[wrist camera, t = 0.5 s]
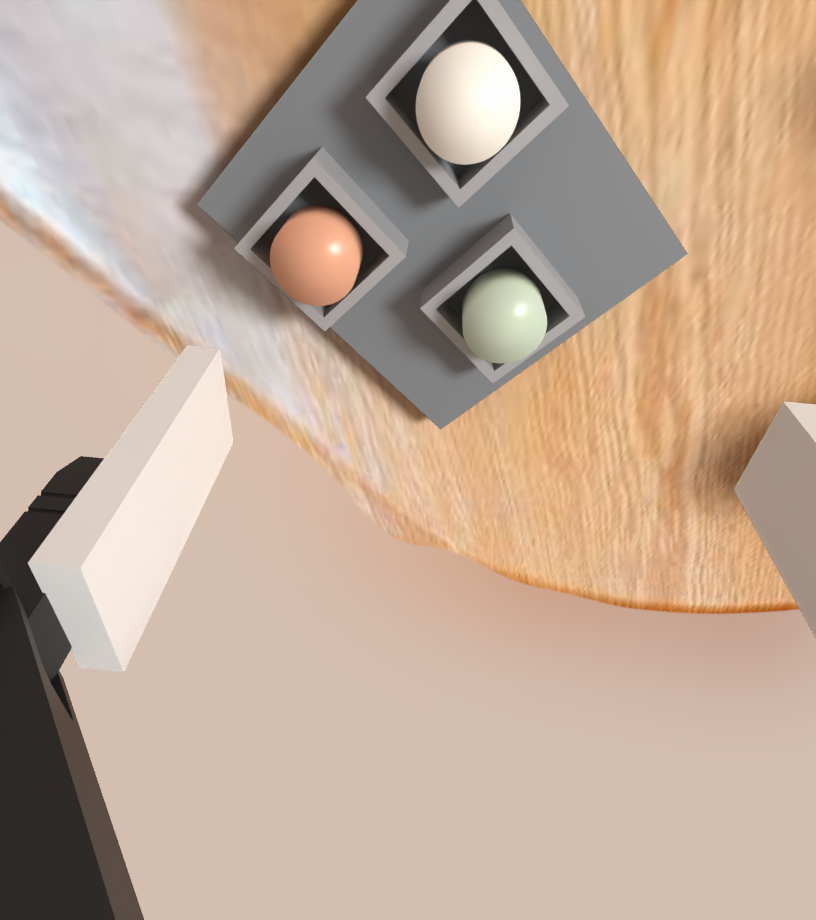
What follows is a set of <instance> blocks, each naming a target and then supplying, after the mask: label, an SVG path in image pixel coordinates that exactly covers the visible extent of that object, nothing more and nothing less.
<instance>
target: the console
mask: <svg viewBox="0 0 816 920" xmlns="http://www.w3.org/2000/svg"><path fill="white" fill-rule="evenodd" d="M463 40H477V41H481V42H484V43H486V44H489V45H491V46H492V47H494V48H495V49H496V50H497V51H499V52H500V53H501V54H502V56H503V57H504V58H505V59H506V61H507V62H508V64H509V65H510V67H511V68H512V70H513V72H514V74H515V76H516V79H517V82H518V85H519V91H520V112H519V117H518V121H517V124H516V127H515V129H514V131H513V133H512V135H511V137H510V139H509V140H508V141H507V143H506V144H505V145H504V146H503V147H502V148H501V150H500V151H498V152H497V153H496V154H495V155H493V156H492V157H490V158H489V159H486V160H484V161H482V162H479V163H475V164H468V165H462V164H455V163H451V162H449V161H446V160H444V159H443V158H441V157H439V156H438V155H437V154H435V153H434V152H433V151H432V150H431V149H430V148H429V146H428V145H427V144H426V142H425V141H424V139H423V137H422V135H421V133H420V130H419V127H418V123H417V118H416V97H417V92H418V88H419V85H420V82H421V79H422V76H423V74H424V71H425V69H426V67H427V66H428V64H429V63H430V61H431V60H432V59H433V57H434V56H435V55H436V54H437V53H438V52H439V51H441V50H442V49H443V48H445V47H446V46H448V45H450V44H452V43H455V42H458V41H463ZM197 205H198V206H199V207H200V208H201V209H203V210H204V211H205V212H206V213H207V214H208V215H209V216H210V217H211V218H212V219H213V220H214V221H216V222H217V223H218V224H219V225H220V226H221V227H222V228H223V229H224V230H225V231H226V232H227V233H229V234H230V235H231V236H232V237H233V238H234V239H235V240H236V241H237V242H238V244H237V245H236V247H235V248H234V249H235V250H236V251H237V252H238V253H239V254H241V255H242V256H243V257H244V258H245V259H246V260H247V261H248V262H249V263H250V264H251V265H253V266H254V267H255V268H256V269H257V270H258V271H259V272H260V273H261V274H262V275H264V276H265V277H266V278H267V279H268V280H269V281H270V282H271V283H272V284H273V285H274V286H276V287H277V288H278V289H279V290H280V291H281V292H282V293H283V294H284V295H285V296H286V297H288V298H289V299H290V300H291V301H292V302H293V303H294V304H295V305H296V306H297V307H298V308H300V309H301V310H302V311H303V312H304V313H305V314H306V315H307V316H308V317H309V318H311V319H312V320H313V321H314V322H315V323H316V324H317V325H318V326H319V327H320V328H321V329H323V330H324V331H326V330H327V329H328V328H329V327H330V328H331V329H332V330H334V331H335V332H336V333H337V334H338V335H339V336H340V337H341V338H342V339H343V340H344V341H345V342H347V343H348V344H349V345H350V346H351V347H352V348H353V349H354V350H355V351H356V352H357V353H358V354H360V355H361V356H362V357H363V358H364V359H365V360H366V361H367V362H368V363H369V364H370V365H371V366H373V367H374V368H375V369H376V370H377V371H378V372H379V373H380V374H381V375H382V376H383V377H384V378H386V379H387V380H388V381H389V382H390V383H391V384H392V385H393V386H394V387H395V388H396V389H397V390H398V391H400V392H401V393H402V394H403V395H404V396H405V397H406V398H407V399H408V400H409V401H410V402H411V403H413V404H414V405H415V406H416V407H417V408H418V409H419V410H420V411H421V412H422V413H423V414H424V415H426V416H427V417H428V418H429V419H430V420H431V421H432V422H433V423H434V424H435V425H436V426H437V427H439V428H440V429H442V428H443V427H445V426H446V425H447V424H449V423H450V422H452V421H453V420H454V419H456V418H457V417H459V416H460V415H462V414H463V413H464V412H466V411H467V410H469V409H470V408H471V407H473V406H474V405H476V404H477V403H478V402H480V401H481V400H483V399H484V398H485V397H487V396H488V395H490V394H491V393H492V392H494V391H495V390H497V389H498V388H500V387H501V386H502V385H504V384H505V383H507V382H508V381H509V380H511V379H512V378H514V377H515V376H516V375H518V374H519V373H521V372H522V371H523V370H525V369H526V368H528V367H529V366H530V365H532V364H533V363H535V362H536V361H538V360H539V359H540V358H542V357H543V356H545V355H546V354H547V353H549V352H550V351H552V350H553V349H554V348H556V347H557V346H559V345H560V344H561V343H563V342H564V341H566V340H567V339H568V338H570V337H571V336H573V335H574V334H576V333H577V332H578V331H580V330H581V329H583V328H584V327H585V326H587V325H588V324H590V323H591V322H592V321H594V320H595V319H597V318H598V317H599V316H601V315H602V314H604V313H605V312H606V311H608V310H609V309H611V308H612V307H614V306H615V305H616V304H618V303H619V302H621V301H622V300H623V299H625V298H626V297H628V296H629V295H630V294H632V293H633V292H635V291H636V290H637V289H639V288H640V287H642V286H643V285H644V284H646V283H647V282H649V281H650V280H652V279H653V278H654V277H656V276H657V275H659V274H660V273H661V272H663V271H664V270H666V269H667V268H668V267H670V266H671V265H673V264H674V263H675V262H677V261H678V260H680V259H681V258H682V257H684V256H685V255H687V254H688V253H687V252H686V250H685V249H684V247H683V246H682V244H681V243H680V241H679V240H678V238H677V237H676V235H675V234H674V232H673V230H672V229H671V227H670V226H669V224H668V223H667V221H666V220H665V218H664V217H663V215H662V214H661V212H660V211H659V209H658V208H657V206H656V205H655V203H654V202H653V200H652V199H651V197H650V196H649V194H648V193H647V191H646V190H645V188H644V187H643V185H642V183H641V182H640V180H639V179H638V177H637V176H636V174H635V173H634V171H633V170H632V168H631V167H630V165H629V164H628V162H627V161H626V159H625V158H624V156H623V155H622V153H621V152H620V150H619V149H618V147H617V146H616V144H615V143H614V141H613V139H612V138H611V136H610V135H609V133H608V132H607V130H606V129H605V127H604V126H603V124H602V123H601V121H600V120H599V118H598V117H597V115H596V114H595V112H594V111H593V109H592V108H591V106H590V105H589V103H588V102H587V100H586V99H585V97H584V96H583V94H582V92H581V91H580V89H579V88H578V86H577V85H576V83H575V82H574V80H573V79H572V77H571V76H570V74H569V73H568V71H567V70H566V68H565V67H564V65H563V64H562V62H561V61H560V59H559V58H558V56H557V55H556V53H555V52H554V50H553V49H552V47H551V45H550V44H549V42H548V41H547V39H546V38H545V36H544V35H543V33H542V32H541V30H540V29H539V27H538V26H537V24H536V23H535V21H534V20H533V18H532V17H531V15H530V14H529V12H528V11H527V9H526V8H525V6H524V5H523V3H522V1H521V0H357V2H356V3H355V4H354V5H353V7H352V8H351V9H350V10H349V12H348V13H347V14H346V15H345V17H344V18H343V19H342V21H341V22H340V23H339V24H338V26H337V27H336V28H335V29H334V31H333V32H332V33H331V35H330V36H329V37H328V38H327V40H326V41H325V42H324V43H323V45H322V46H321V47H320V49H319V50H318V51H317V52H316V54H315V55H314V56H313V57H312V59H311V60H310V61H309V62H308V64H307V65H306V66H305V68H304V69H303V70H302V71H301V73H300V74H299V75H298V76H297V78H296V79H295V80H294V82H293V83H292V84H291V85H290V87H289V88H288V89H287V90H286V92H285V93H284V94H283V96H282V97H281V98H280V99H279V101H278V102H277V103H276V104H275V106H274V107H273V108H272V109H271V111H270V112H269V113H268V115H267V116H266V117H265V118H264V120H263V121H262V122H261V123H260V125H259V126H258V127H257V129H256V130H255V131H254V132H253V134H252V135H251V136H250V137H249V139H248V140H247V141H246V142H245V144H244V145H243V146H242V148H241V149H240V150H239V151H238V153H237V154H236V155H235V156H234V158H233V159H232V160H231V162H230V163H229V164H228V165H227V167H226V168H225V169H224V170H223V172H222V173H221V174H220V176H219V177H218V178H217V179H216V181H215V182H214V183H213V184H212V186H211V187H210V188H209V189H208V191H207V192H206V193H205V195H204V196H203V197H202V198H201V200H200V201H199V202H198V203H197ZM309 205H326V206H330V207H332V208H335V209H337V210H339V211H341V212H342V213H343V214H345V215H346V216H347V217H348V218H349V219H350V220H351V221H352V222H353V223H354V225H355V226H356V228H357V230H358V232H359V234H360V237H361V240H362V244H363V257H362V262H361V265H360V268H359V271H358V274H357V277H356V280H355V283H354V285H353V287H352V289H351V290H350V292H349V293H348V294H347V295H346V296H345V297H344V298H342V299H341V300H339V301H338V302H335V303H333V304H330V305H325V306H313V305H308V304H304V303H301V302H299V301H297V300H295V299H294V298H292V297H291V296H289V295H288V294H287V293H286V292H285V291H284V290H283V289H282V288H281V287H280V285H279V284H278V283H277V281H276V279H275V277H274V275H273V272H272V269H271V265H270V250H271V246H272V243H273V240H274V239H275V237H276V235H277V234H278V232H279V231H280V229H281V228H282V227H283V225H284V224H285V222H286V221H287V220H288V218H289V217H290V216H291V215H292V214H293V213H294V212H296V211H297V210H299V209H301V208H303V207H305V206H309ZM496 269H514V270H517V271H520V272H522V273H524V274H526V275H527V276H529V277H530V278H531V279H532V280H533V281H534V282H535V284H536V285H537V287H538V289H539V291H540V294H541V297H542V301H543V304H544V308H545V311H546V316H547V329H546V333H545V336H544V338H543V340H542V342H541V343H540V345H539V346H538V347H537V348H536V349H535V350H534V351H533V352H532V353H531V354H530V355H528V356H527V357H525V358H523V359H521V360H518V361H516V362H511V363H500V364H499V363H492V362H488V361H486V360H483V359H481V358H480V357H478V356H477V355H475V354H474V353H473V352H472V351H471V350H470V348H469V347H468V345H467V344H466V342H465V339H464V336H463V327H462V303H463V298H464V295H465V293H466V291H467V289H468V288H469V286H470V285H471V284H472V283H473V282H474V281H475V280H476V279H477V278H478V277H480V276H481V275H483V274H485V273H487V272H489V271H492V270H496Z"/></svg>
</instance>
